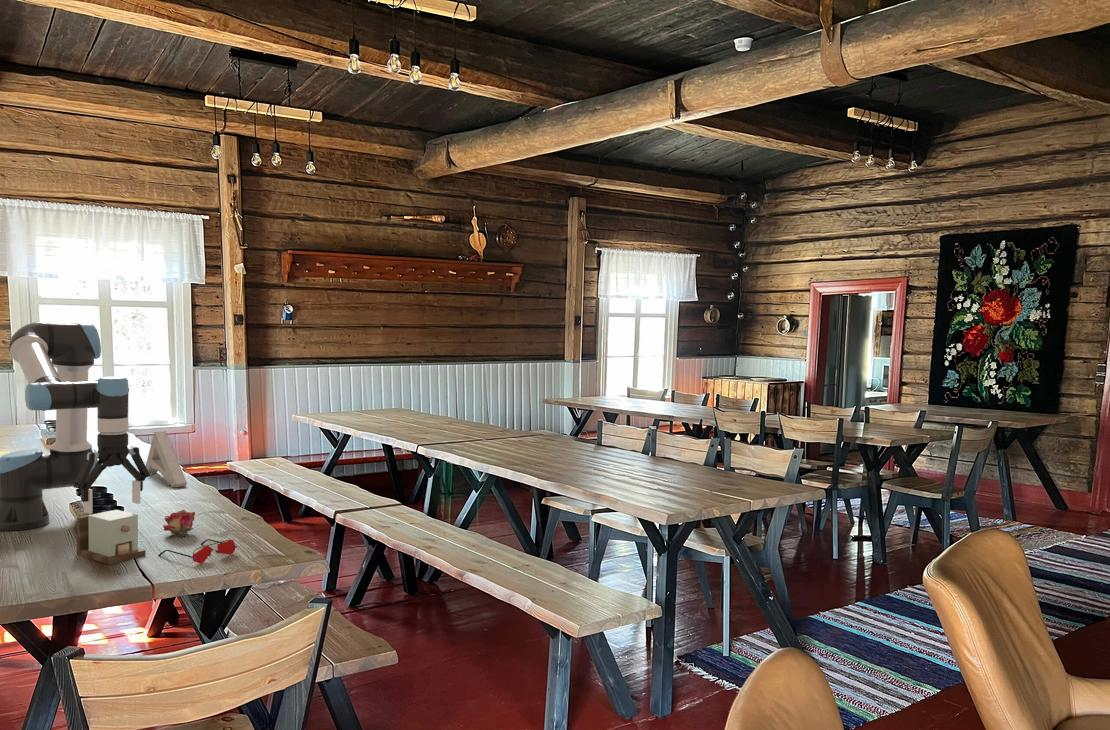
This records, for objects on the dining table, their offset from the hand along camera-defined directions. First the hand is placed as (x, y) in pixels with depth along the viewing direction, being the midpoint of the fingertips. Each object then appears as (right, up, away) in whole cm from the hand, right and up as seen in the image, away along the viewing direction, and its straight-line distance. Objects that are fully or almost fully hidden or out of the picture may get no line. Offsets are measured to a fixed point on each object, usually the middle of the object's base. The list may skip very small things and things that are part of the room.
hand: (112, 507), depth 217 cm
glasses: (+22, -15, +4) cm, 27 cm away
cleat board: (-1, -13, +1) cm, 14 cm away
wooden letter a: (-35, -7, +99) cm, 105 cm away
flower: (+8, -13, +22) cm, 27 cm away
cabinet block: (0, -12, 0) cm, 12 cm away
